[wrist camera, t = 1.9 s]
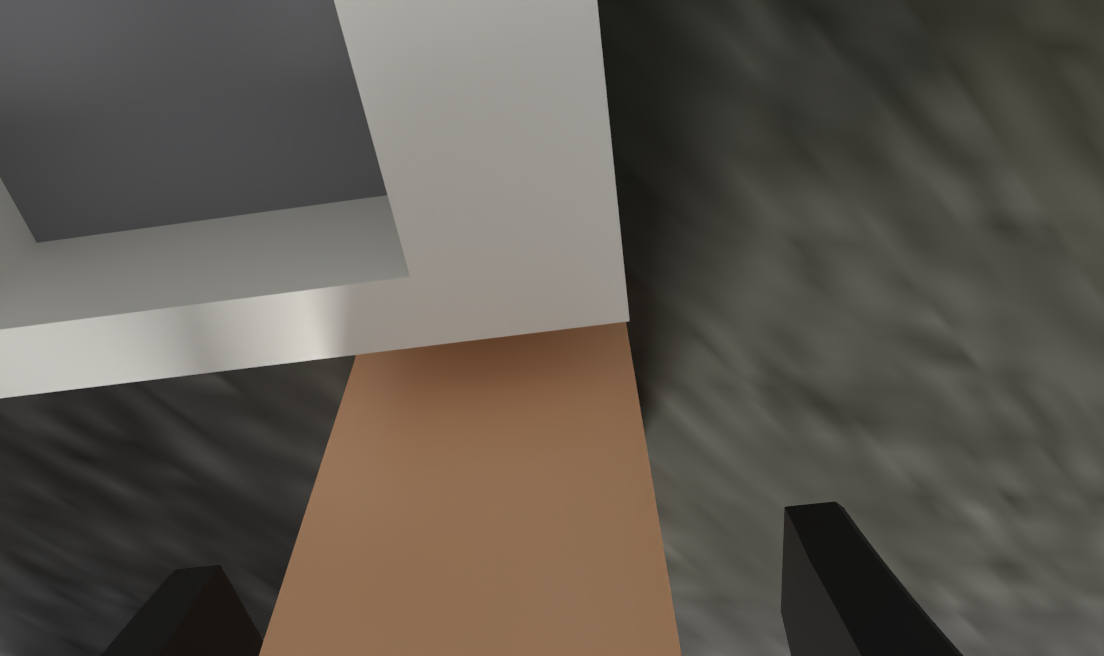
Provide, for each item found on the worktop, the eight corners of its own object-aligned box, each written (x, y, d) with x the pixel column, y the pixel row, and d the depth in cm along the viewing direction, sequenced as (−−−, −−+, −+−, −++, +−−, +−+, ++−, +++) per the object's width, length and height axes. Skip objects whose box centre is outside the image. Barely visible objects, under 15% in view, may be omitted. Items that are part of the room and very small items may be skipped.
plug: (636, 450, 15) (714, 972, 8) (429, 474, 15) (344, 997, 9) (617, 268, 13) (701, 779, 6) (374, 299, 13) (205, 820, 6)
